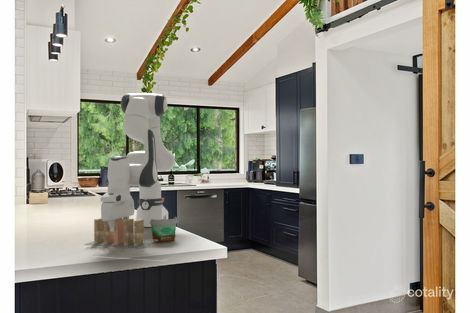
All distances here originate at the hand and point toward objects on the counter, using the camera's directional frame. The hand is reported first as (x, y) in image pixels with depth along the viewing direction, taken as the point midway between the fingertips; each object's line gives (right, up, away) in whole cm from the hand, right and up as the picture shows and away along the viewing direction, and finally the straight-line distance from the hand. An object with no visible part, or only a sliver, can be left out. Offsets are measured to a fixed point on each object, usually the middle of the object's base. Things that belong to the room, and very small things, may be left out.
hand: (119, 229), depth 169 cm
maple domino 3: (+4, -6, -1) cm, 7 cm away
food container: (+19, -7, +4) cm, 20 cm away
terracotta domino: (0, -6, 0) cm, 6 cm away
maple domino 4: (+9, -6, -2) cm, 11 cm away
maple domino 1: (-9, -6, +2) cm, 11 cm away
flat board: (0, -6, 0) cm, 6 cm away
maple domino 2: (-4, -6, +1) cm, 7 cm away
